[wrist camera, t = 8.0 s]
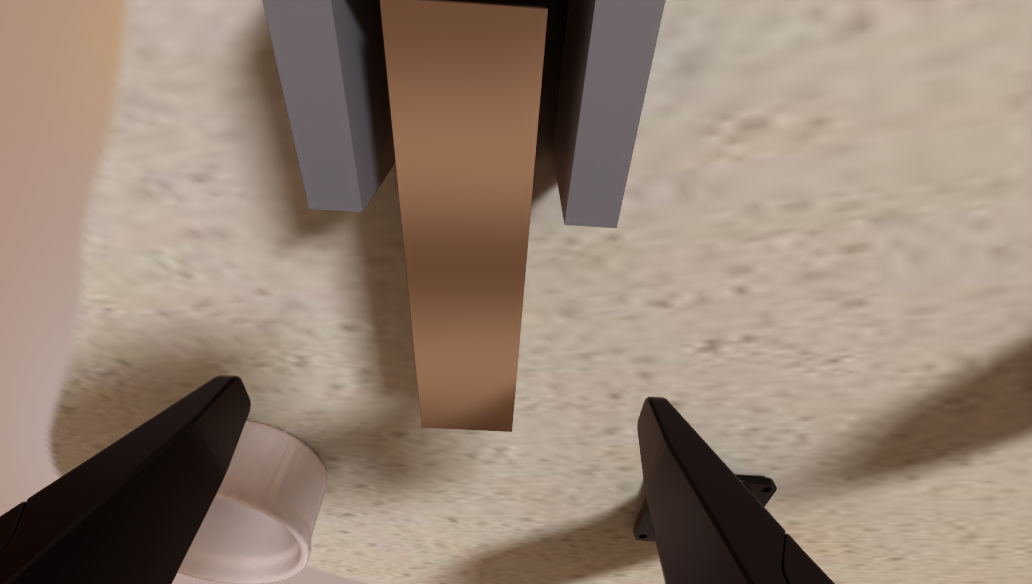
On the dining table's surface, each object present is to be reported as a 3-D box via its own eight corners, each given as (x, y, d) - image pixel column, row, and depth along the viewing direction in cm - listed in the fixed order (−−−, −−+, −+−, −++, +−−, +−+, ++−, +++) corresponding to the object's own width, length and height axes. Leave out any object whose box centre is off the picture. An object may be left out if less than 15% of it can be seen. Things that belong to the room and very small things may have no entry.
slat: (513, 333, 19) (511, 431, 15) (443, 329, 19) (421, 427, 15) (539, -5, 12) (547, 9, 8) (427, -13, 12) (379, -3, 8)
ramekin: (154, 474, 25) (95, 555, 22) (182, 383, 21) (114, 466, 18) (309, 520, 28) (278, 599, 25) (362, 447, 24) (334, 531, 20)
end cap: (590, 155, 14) (616, 228, 10) (369, 140, 14) (308, 209, 10) (628, -90, 11) (691, -124, 7) (337, -113, 11) (226, -162, 7)
